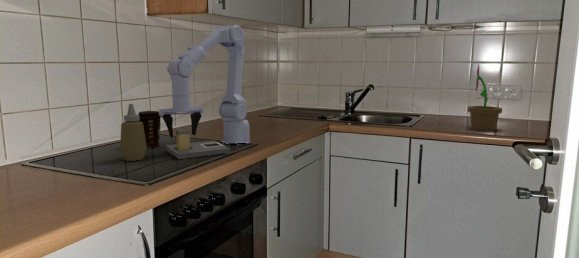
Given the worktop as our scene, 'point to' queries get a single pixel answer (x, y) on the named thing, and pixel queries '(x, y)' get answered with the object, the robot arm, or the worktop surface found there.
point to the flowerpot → (483, 112)
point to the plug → (183, 139)
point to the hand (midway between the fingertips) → (182, 135)
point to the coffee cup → (151, 127)
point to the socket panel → (199, 149)
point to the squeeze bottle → (132, 136)
